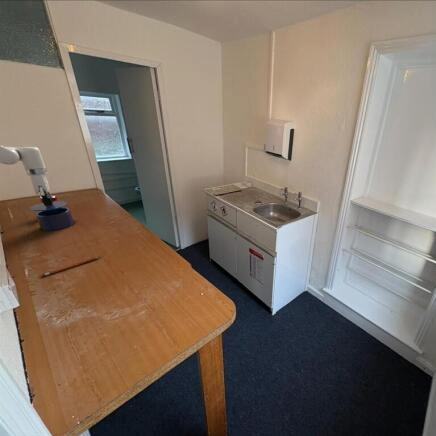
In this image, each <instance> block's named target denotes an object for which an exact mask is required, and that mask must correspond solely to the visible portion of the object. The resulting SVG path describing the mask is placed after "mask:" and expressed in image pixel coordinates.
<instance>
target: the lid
mask: <svg viewBox="0 0 436 436" xmlns="http://www.w3.org/2000/svg"><path fill="white" fill-rule="evenodd" d="M50 195H51V194H50ZM50 195H49V198H50V199H51V197H50ZM51 201H52V200H51ZM67 206H68V202H66V201H62V200H58V201H55V202H53V203H52V205H48V206H44V203H41V202H40V203H38V204H35V205H33V206H30V210H31V211H32V212H41V211H49V210H55V209H59V208H66V207H67Z"/></svg>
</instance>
